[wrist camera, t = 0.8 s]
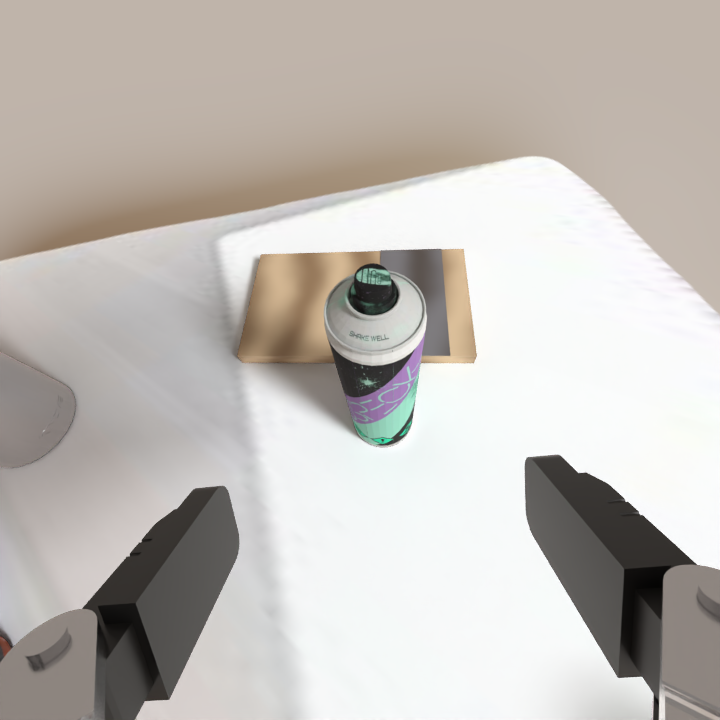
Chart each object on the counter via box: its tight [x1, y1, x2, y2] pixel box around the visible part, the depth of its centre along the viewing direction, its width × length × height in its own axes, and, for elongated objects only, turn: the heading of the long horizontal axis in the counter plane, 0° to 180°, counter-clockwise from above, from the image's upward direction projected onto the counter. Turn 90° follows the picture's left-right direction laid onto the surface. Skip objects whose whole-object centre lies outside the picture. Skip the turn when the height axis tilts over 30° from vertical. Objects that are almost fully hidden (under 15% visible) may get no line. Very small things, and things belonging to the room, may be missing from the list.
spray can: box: [324, 263, 427, 448], centre depth 25 cm, size 6×6×20 cm
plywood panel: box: [237, 249, 477, 363], centre depth 39 cm, size 24×14×2 cm, turn 88°
